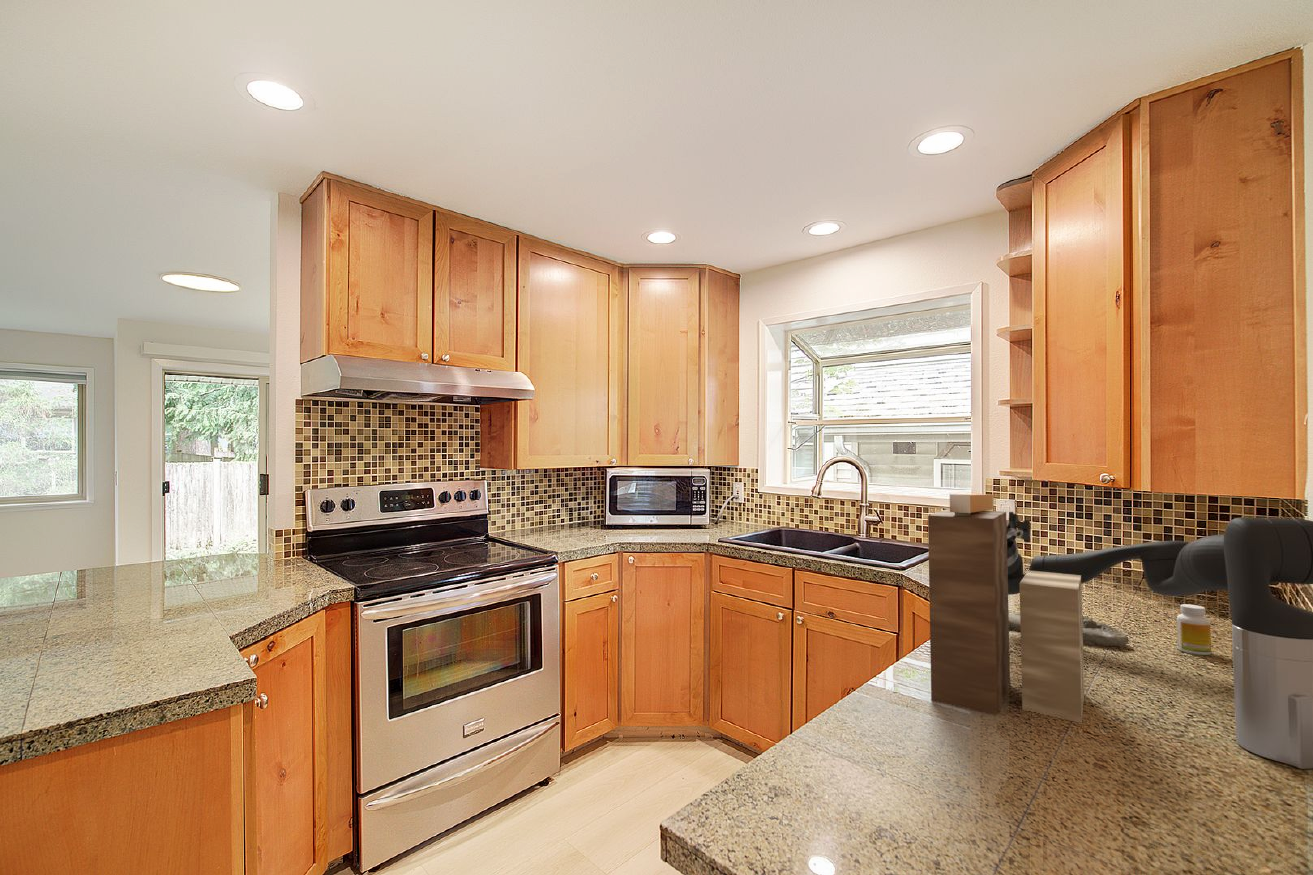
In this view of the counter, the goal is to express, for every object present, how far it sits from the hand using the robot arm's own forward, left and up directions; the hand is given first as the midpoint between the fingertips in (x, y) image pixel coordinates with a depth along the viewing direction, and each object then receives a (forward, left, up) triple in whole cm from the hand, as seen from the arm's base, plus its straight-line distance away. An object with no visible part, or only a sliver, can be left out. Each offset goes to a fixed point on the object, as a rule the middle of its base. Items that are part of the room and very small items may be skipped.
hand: (987, 514), depth 123 cm
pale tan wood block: (-12, +11, +2) cm, 16 cm away
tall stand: (-15, +15, -30) cm, 37 cm away
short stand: (-21, +3, -30) cm, 37 cm away
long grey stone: (+18, -26, -31) cm, 44 cm away
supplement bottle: (0, -47, -30) cm, 56 cm away
